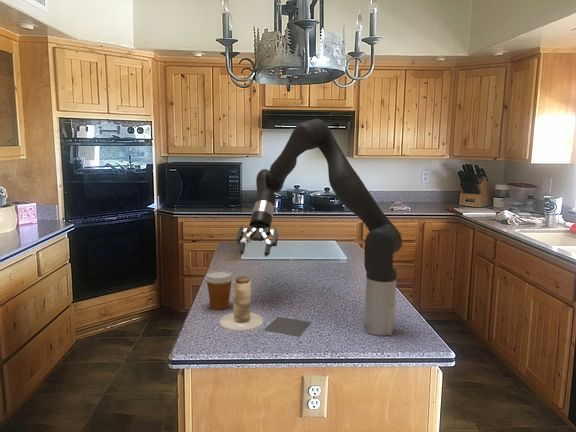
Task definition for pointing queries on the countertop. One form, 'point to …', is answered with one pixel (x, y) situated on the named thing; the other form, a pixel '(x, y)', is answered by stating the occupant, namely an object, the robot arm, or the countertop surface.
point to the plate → (230, 324)
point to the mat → (288, 326)
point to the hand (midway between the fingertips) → (253, 254)
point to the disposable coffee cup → (219, 289)
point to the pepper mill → (242, 299)
